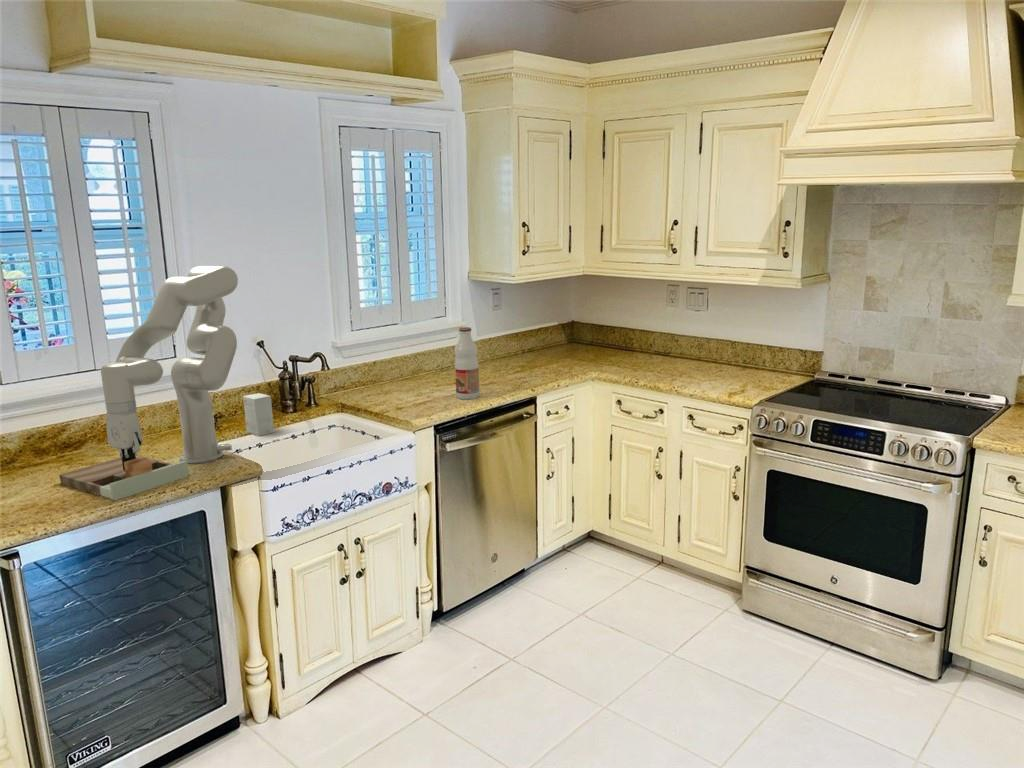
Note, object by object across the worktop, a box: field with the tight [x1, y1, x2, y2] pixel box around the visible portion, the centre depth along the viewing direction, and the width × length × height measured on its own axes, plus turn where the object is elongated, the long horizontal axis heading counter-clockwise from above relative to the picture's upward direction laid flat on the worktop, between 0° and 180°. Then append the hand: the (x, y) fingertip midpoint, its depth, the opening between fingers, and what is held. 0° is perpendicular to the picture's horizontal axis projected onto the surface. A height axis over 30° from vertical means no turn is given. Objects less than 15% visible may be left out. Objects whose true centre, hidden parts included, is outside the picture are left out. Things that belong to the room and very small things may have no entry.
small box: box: [242, 392, 275, 437], centre depth 265 cm, size 8×6×13 cm
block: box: [124, 456, 152, 478], centre depth 213 cm, size 5×5×5 cm
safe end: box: [100, 461, 190, 501], centre depth 214 cm, size 7×22×4 cm, turn 147°
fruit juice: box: [454, 326, 480, 400], centre depth 306 cm, size 9×9×28 cm
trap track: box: [59, 454, 172, 496], centre depth 222 cm, size 21×22×2 cm
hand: (130, 469), depth 218 cm, fingers closed
